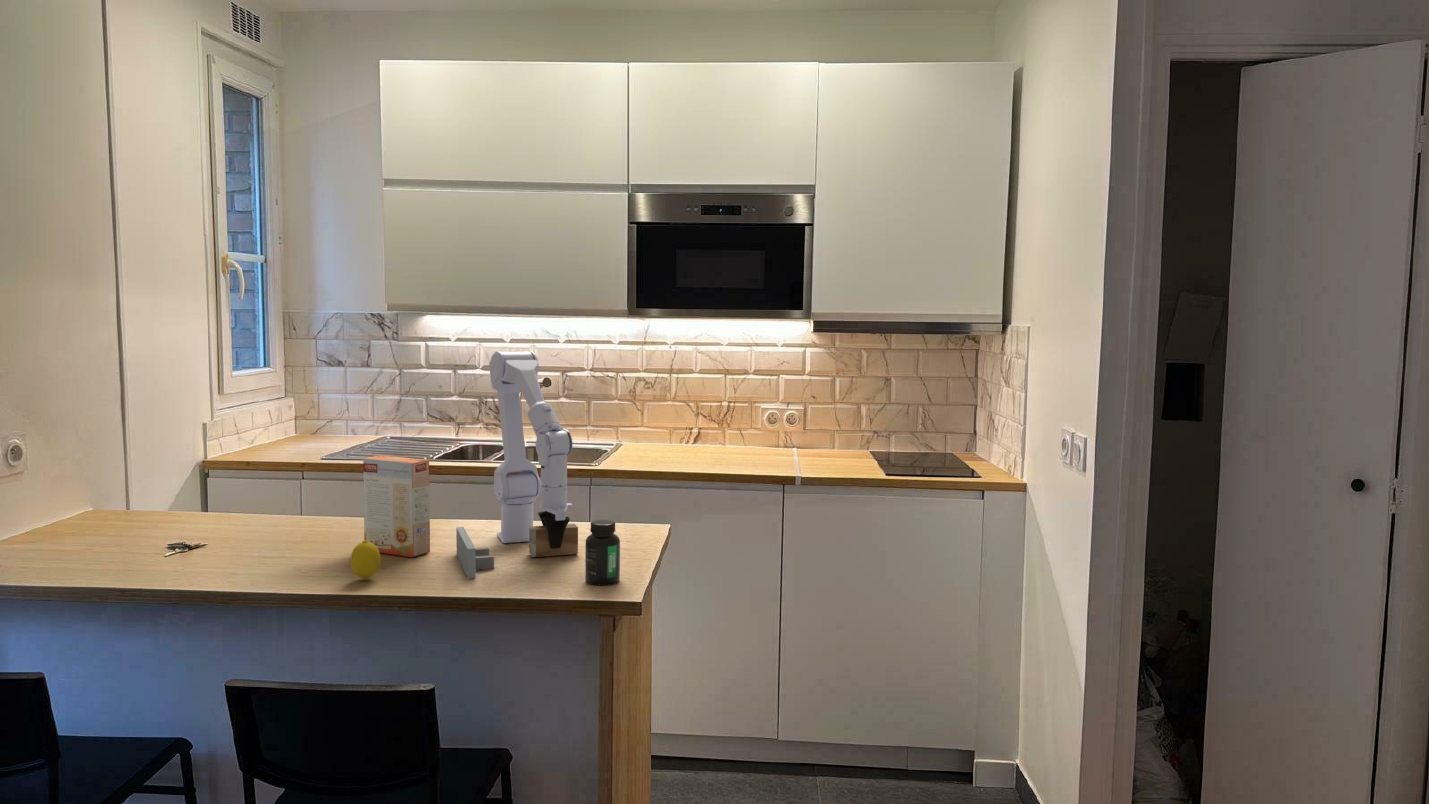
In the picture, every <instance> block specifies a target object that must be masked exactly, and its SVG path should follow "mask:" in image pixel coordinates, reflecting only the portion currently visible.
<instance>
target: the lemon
mask: <svg viewBox="0 0 1429 804" xmlns="http://www.w3.org/2000/svg"><path fill="white" fill-rule="evenodd" d="M350 567H351V570H352V572H353V573H354V574H355V575H356V576H357V577H359V578H362V579H363V580H364V581H368V580H369V579H370V578H371V577H372V576H373V577H374V575H375V574H377V572H378V571H379V570H380V567H381V553H379V550H378V548H377V547H376V546H375V545H374V544H373V543H370V542H368V541H367V540H364V539H363V541H362V542H360V543H358V544H357V545H356V546H354V548H353V549H352V552H351V556H350Z"/></svg>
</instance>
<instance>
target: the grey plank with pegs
mask: <svg viewBox="0 0 1429 804" xmlns="http://www.w3.org/2000/svg"><path fill="white" fill-rule="evenodd" d="M455 532H456V556H457V558H458V561H459V562H460V564H461V567H462V569H463V571H464V573H465V575H466V577H468V578H469V579H475V578H476V577H477V576H476V571H480V570H479V569H484V570H495V556H494V554H491V555H490V547H485V546H484V547H475V545H474V544H473V542H472V540H471V538H470V536H469V534H468V533H467V531H466V529H465V527H464V526H457V527H456V531H455ZM468 578H467V579H468ZM476 579H477V578H476Z"/></svg>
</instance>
